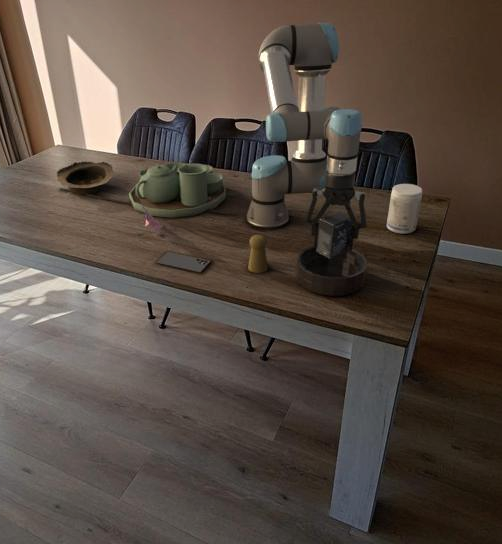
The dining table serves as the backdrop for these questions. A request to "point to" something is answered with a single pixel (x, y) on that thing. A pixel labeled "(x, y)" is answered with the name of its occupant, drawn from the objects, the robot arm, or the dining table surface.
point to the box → (334, 234)
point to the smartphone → (184, 262)
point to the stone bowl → (85, 176)
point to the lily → (151, 221)
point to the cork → (258, 254)
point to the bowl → (331, 272)
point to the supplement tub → (404, 208)
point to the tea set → (178, 190)
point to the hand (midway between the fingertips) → (333, 246)
